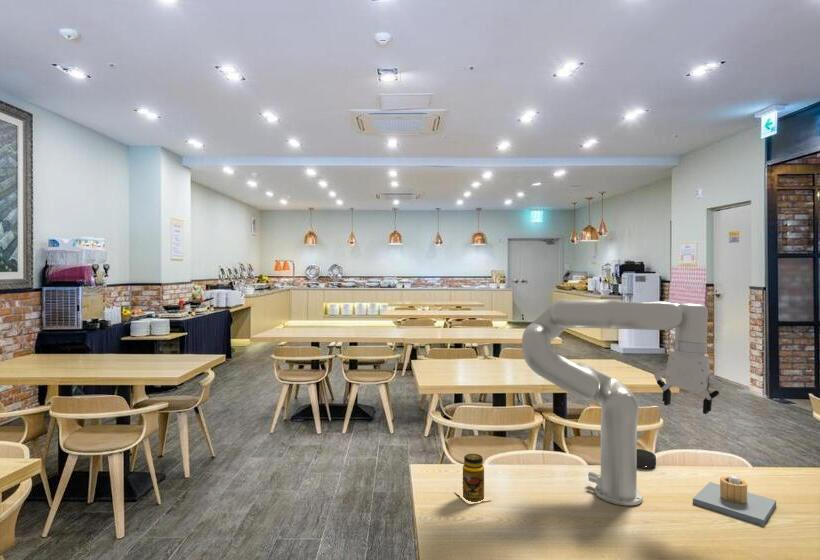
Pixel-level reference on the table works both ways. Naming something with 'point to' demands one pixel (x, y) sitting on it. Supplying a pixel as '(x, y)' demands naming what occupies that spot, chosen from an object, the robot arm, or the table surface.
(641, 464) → the smart speaker
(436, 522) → the table surface
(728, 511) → the peg stand
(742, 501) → the ring
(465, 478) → the condiment
